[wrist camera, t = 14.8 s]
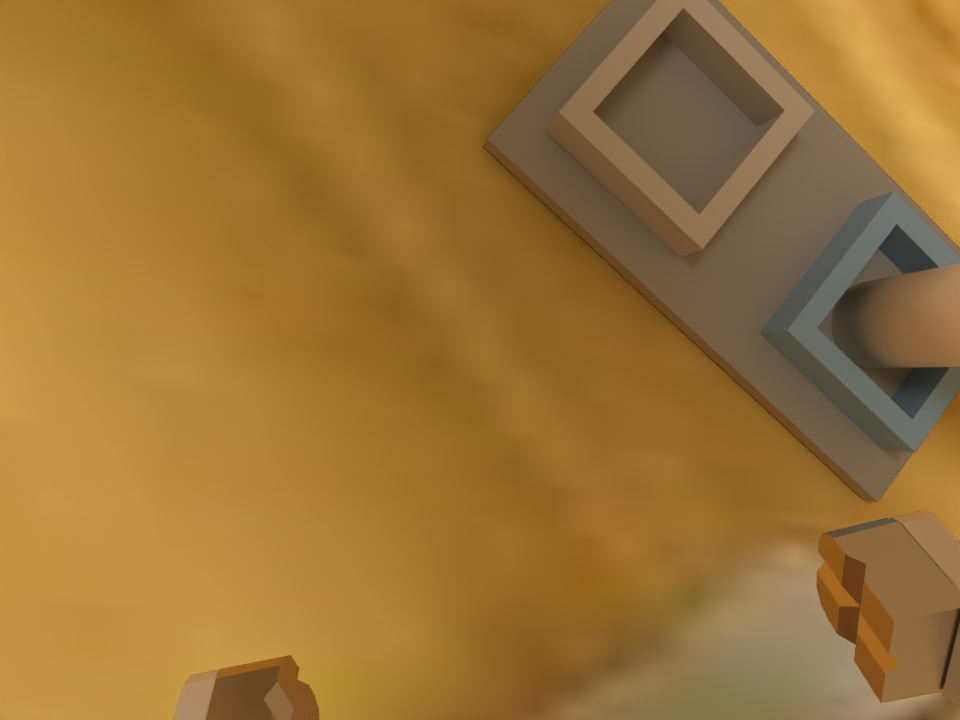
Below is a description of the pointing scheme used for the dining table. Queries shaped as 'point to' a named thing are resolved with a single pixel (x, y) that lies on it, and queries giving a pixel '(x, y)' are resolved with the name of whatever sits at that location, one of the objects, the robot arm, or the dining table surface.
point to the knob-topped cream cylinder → (901, 320)
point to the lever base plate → (735, 218)
